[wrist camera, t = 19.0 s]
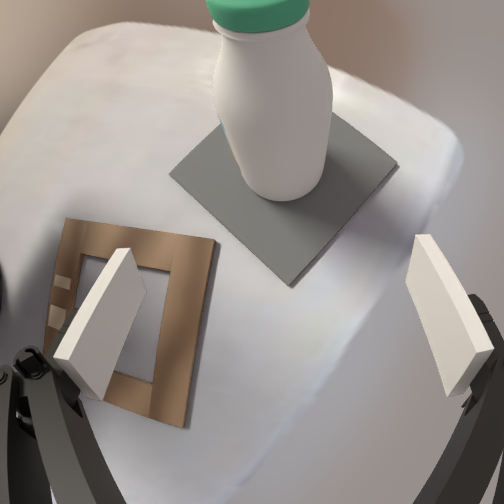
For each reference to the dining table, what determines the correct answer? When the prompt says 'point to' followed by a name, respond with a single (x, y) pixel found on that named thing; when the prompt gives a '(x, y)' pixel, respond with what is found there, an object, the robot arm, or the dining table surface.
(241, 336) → the dining table surface
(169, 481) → the dining table surface
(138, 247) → the wooden frame
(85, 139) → the dining table surface
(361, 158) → the rubber mat
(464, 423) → the robot arm
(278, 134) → the milk bottle
